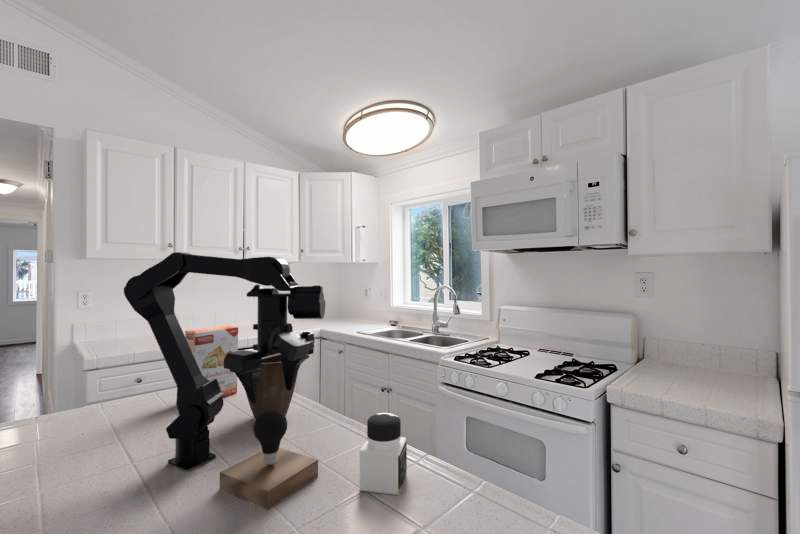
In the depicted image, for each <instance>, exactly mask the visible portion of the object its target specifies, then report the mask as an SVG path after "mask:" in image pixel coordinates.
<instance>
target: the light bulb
mask: <svg viewBox="0 0 800 534" xmlns="http://www.w3.org/2000/svg"><path fill="white" fill-rule="evenodd" d="M254 420H255V419H254ZM252 429H253V434H254V437H255V438H256V439H257V440H258V442H259V443H260V447H261V451H263V454H264V455H263V456H264V457H263V458H264V459H263V462H264V463H265V464H266V465H268V466H272V465H273V464H274V463H276V462H277V460H278V449H279V448H280V445H281V441H282V439H283V438H284V436H285V434H286V432H287V430H288V419H287V416H286V417H285V416H284V414H283V413H282V412H280V411H278V410H274V409H270V410H266V411H264V412H262V413H261V414H260V415H259V416H258V417H257V418H256V420H255V421H254V423H253V428H252Z"/></svg>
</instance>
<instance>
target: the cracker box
mask: <svg viewBox="0 0 800 534" xmlns="http://www.w3.org/2000/svg"><path fill="white" fill-rule="evenodd" d="M184 336H185V338H186V340H187V342H188V345H189V347H190V349H191V351H192V353H193V356H194V358H195V360H196V362H197V365H198V367H199V369H200V371H201V373H202V375H203V376H204V377H205V378H207V379H208V380H209V381H211V380H213V379H214V378H216V379H217V381H218V384H219V388H220V390H221V391H222V392H223V393H224V396H223V397H222V398H224V397H228V396H231V395H235V394H237V393H238V377H237V375H236V374H235V372H230V369H225V368H224V357H225V356H226V355H227V353H231V352H235V351H239V327H238V326H235V325H233V326H232V325H223V326H215V327H206V328H198V329H190V330H189V329H188V330H185V331H184Z"/></svg>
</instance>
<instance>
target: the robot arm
mask: <svg viewBox="0 0 800 534" xmlns="http://www.w3.org/2000/svg"><path fill="white" fill-rule="evenodd" d="M189 273H190V274H191V273H192V274H202V275H211V276H212V275H214V276H221V277H222V276H224V277H235V278H239V279H243V280H246V281H248V282H250V283H254V284H255V285H254V286H253V287H252V289H251V290H250V291H248V292H247V293H246V297H247V298H252V297H253V298H257V323H253V324H252V329H253V330H255V331H257V338H256V339H257V343H255V344H253V345H252V350H253V351H252V350H244V349H240V350H238V351H235V352H231V353H227V355H226V356H225V357H224V368H225V369H230V372H235V374H236V375H237V379H238V380H239V381H240V384H241V385H242V388H243V390H244V391H245V394H246V393H247V395H248V397H249V399H250V401H251V403H256V402H257V393H258V376H259V374H260V373H261V371H262V369H259V367H260V365H261V364H262V361H263V360H267V359H271V358H275V357H279V356H281V360H282V367H283V374H284V380H285V385H286V389H287V390H289V391H290V390H292V387H293V384H294V381H295V378H296V375H297V376H298V374H297V372H298V373H299V369H300V367H301V365H302V364H303V362H304V361H306V360H307V359H309V358H310V355H313V354H314V351H315V350H314V349H315V334H314V332H313V331H311V330H305V331H303V332H301V333H300V332H298V333H296V332H294V331H293V330H294V329H293V327H294V326H293V325H292V322H291V323H289V322H288V314H289V315H290V316H292V317H293V319H295V320H302V319H303V320H323V319H324V317H325V315H326V313H325V312H326V300H325V295H324V291H323V290H324V289H323V288H324V287H323V285H322V284H316V285H309V286H308V285H305V286H304V285H300V284H299V283H298V282H297V281H296V279H295V278H294V277H293V275H292V274H291V268H290V265H289V263H288V262H287V261H286V259H283V258H281V257H275V256H260V257H259V256H258V257H249V258H231V257H230V258H229V257H221V256H211V255H198V254H191V253H189V252H180V251H179V252H178V251H177V252H173V253H172V252H171V253H170V254H169V255H168V256H166V257H165V258H164V259H163V260H161V261H160V262H158V263H156V264H154V265H152V266H150V267H149V268H147V269H145V270H144V271H143V272H141V273H140V274H139V275H134V276H132V277H130V278H129V279H128V281H127V282H126V283H125V286H124V287H123V294H124V297H125V299H126V300H127V302H128V303H129V305H130V306H131V308H132V309H133V310H134V312H135V313H137V314H138V315H139V316H141V318H143V319H144V320H146V321H147V323H148V325H149V327H150V330H151V331H152V333H153V336H154V339H155V340H156V342H157V345H158V346H159V349H160V351H161V354H162V356H163V359H164V360H165V362H166V364H167V367H168V370H169V372H170V374H171V376H172V378H173V380H174V383H175V385H176V402H175V404H176V408H177V412H178V416H177V417H176V418H175V419H174V420H173V421H171V423H169V425H168V426H167V427H166V428H165V429H166V434H167V437H168V438H169V439H170V440H171V439H172V440H173V439H174V440H175V452H174V453H175V456H174V457H172V458H170V459H168V460H167V464H169V465H172V466H174V467H176V468H178V469H181V470H183V471H189V470H191V469H193V468H197V467H198V466H201V465H203V464H205V463H207V462H209V461H211V460H215V458H217V454H215V453H213V452H210V451H211V447H210V446H211V440H210V429H209V425H210V424H211V423H213V422H214V421H215V418H216V416H217V415H218V414H220V413H221V411H222V409H223V406H224V397H223V396H224V393H223V392H222V391H221V390H220V388H219V384H218V381H217V379H216V378H214V379H213V380H211V381H209V380H208V379H207V378H205V377H204V376H203V375H202V373H201V371H200V369H199V367H198V365H197V362H196V360H195V358H194V356H193V353H192V351H191V349H190V347H189V345H188V342H187V340H186V338H185V332H184V331H183V330H182V327H181V325H180V322H179V320H178V318H177V315H176V312H175V304H176V303H175V302H176V296H175V292H174V289H175V288H176V287H178V285H180V284H181V283H182V281H183V280H184V279H185V278H186V276H187V275H188V274H189ZM263 286H265V287H266V286H267V288H265V287H263ZM268 287H269V288H268ZM270 287H273V288H270ZM283 292H284V293H283ZM285 292H286V293H285ZM276 352H277V353H276ZM266 354H269V355H266ZM247 395H246V396H247Z"/></svg>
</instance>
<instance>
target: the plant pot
mask: <svg viewBox="0 0 800 534" xmlns="http://www.w3.org/2000/svg"><path fill="white" fill-rule="evenodd" d="M276 353H277V352H276ZM266 355H269V354H266ZM259 369H262V371H261V373H260V374H259V376H258V393H257V402H256V403H251V401H250V399H249V397H248V395H247V393H246V392H245V396H246V398H247V402H248V404H249V408H250V410H251V413H252V415H253V418H254V420H256V418H257V417H258V416H259V415H260V414H261V413H262V412H264V411H266V410H270V409H274V410H278V411H280V412H282V413H283V414H284V416H285V417H286V418H287V414H288V411H289V408H290V405H291V402H292V399H293V395H294V391H295V387H296V384H297V378H298V373H299V371H298V372H297V375H296V378H295V381H294V384H293V387H292V390H290V391H289V390H287V389H286V385H285V380H284V374H283V367H282V360H281V356H279V357H275V358H271V359H267V360H263V361H262V364H261V365H260V367H259Z"/></svg>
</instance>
